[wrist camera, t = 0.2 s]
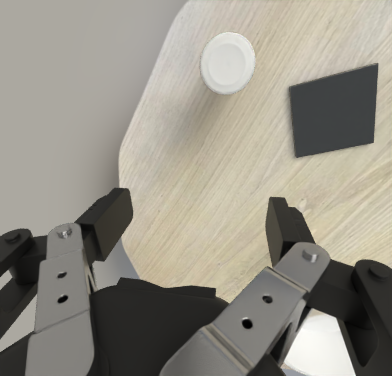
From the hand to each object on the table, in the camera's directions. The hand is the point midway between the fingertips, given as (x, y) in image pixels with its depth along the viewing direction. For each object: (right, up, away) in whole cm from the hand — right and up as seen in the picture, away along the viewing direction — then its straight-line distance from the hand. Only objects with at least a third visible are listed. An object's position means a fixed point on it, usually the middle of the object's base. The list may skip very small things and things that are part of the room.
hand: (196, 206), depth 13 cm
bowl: (+27, -25, +36) cm, 51 cm away
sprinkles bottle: (+5, +17, +17) cm, 25 cm away
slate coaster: (+18, +11, +18) cm, 28 cm away
